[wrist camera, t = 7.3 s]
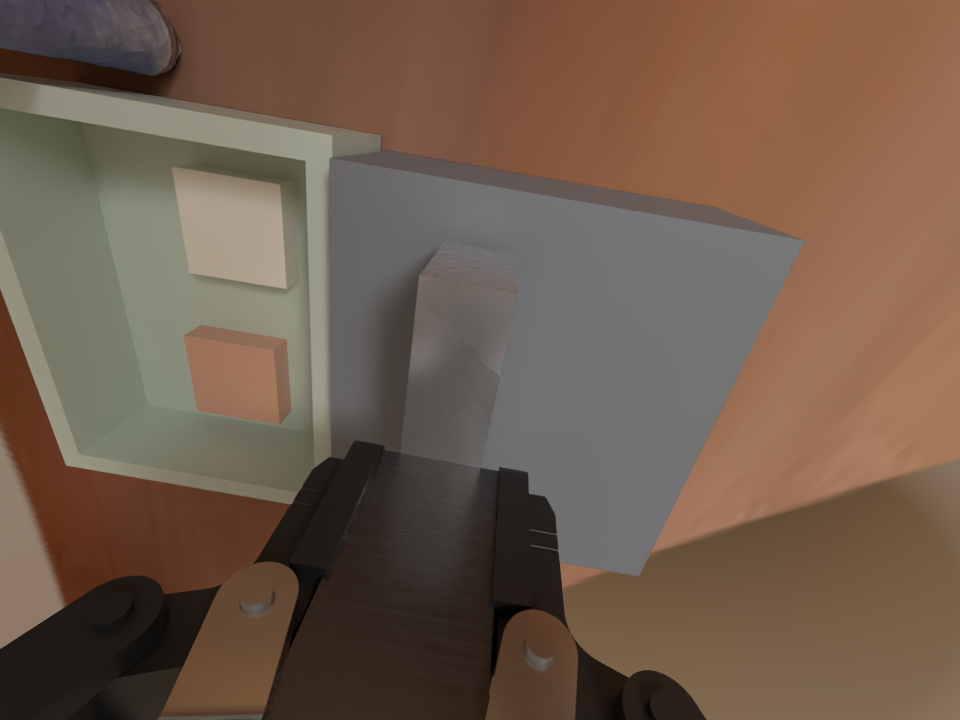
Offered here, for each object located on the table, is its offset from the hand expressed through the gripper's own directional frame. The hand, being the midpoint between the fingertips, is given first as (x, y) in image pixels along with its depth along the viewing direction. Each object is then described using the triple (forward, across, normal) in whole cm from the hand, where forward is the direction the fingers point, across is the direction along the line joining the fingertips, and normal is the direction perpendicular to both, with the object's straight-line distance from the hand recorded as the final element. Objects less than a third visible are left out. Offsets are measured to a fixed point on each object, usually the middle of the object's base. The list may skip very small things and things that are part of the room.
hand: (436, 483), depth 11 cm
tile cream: (+8, +10, -3) cm, 13 cm away
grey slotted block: (+10, -2, 0) cm, 10 cm away
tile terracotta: (+8, +10, +4) cm, 14 cm away
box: (+10, +11, 0) cm, 15 cm away
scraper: (+3, 0, +1) cm, 3 cm away
